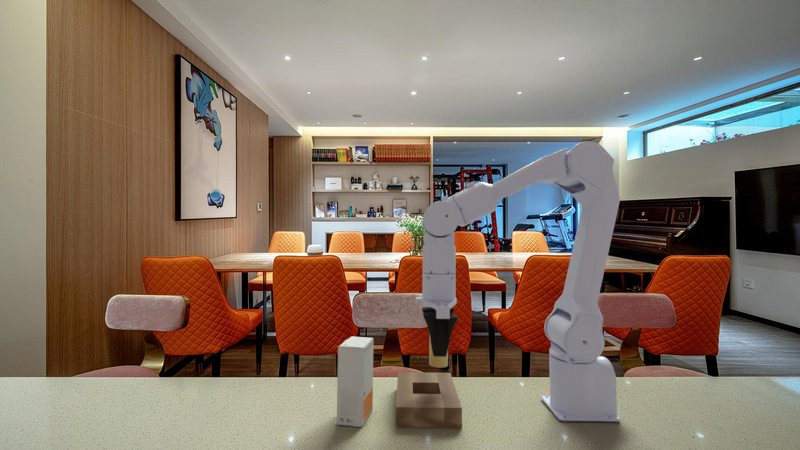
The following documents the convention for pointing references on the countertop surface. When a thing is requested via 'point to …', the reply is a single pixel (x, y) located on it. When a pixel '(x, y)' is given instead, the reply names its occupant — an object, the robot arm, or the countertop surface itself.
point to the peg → (437, 358)
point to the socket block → (427, 401)
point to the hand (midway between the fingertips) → (438, 352)
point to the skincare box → (355, 381)
